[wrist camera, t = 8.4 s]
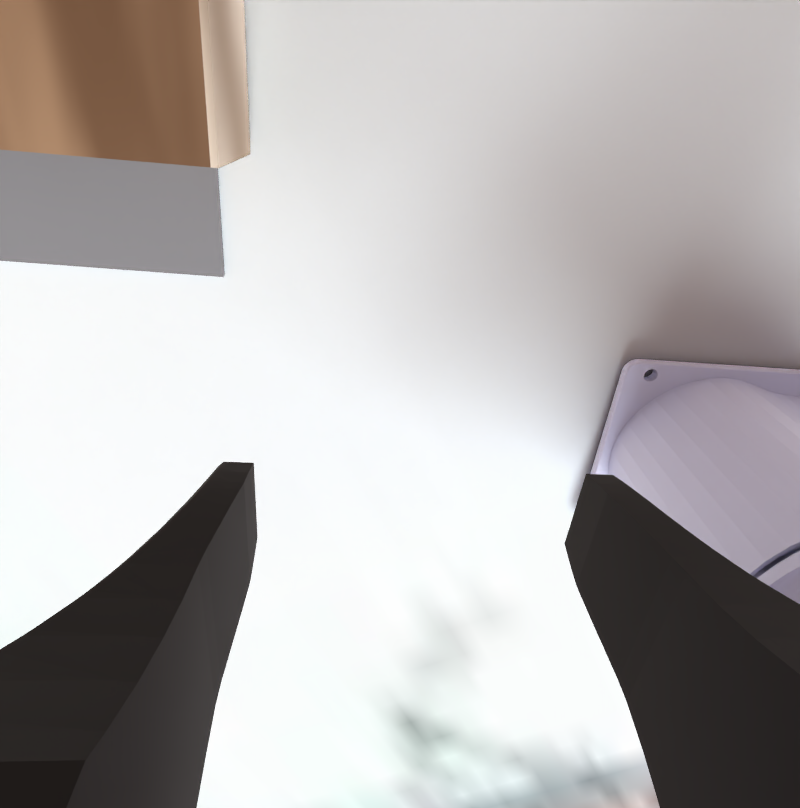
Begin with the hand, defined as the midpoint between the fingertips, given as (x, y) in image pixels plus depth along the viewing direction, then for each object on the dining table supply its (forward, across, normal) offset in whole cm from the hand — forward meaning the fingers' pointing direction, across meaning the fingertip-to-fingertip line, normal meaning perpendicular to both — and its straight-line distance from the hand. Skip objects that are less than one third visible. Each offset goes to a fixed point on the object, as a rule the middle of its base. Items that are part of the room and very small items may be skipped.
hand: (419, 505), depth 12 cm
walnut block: (+8, +5, -8) cm, 12 cm away
